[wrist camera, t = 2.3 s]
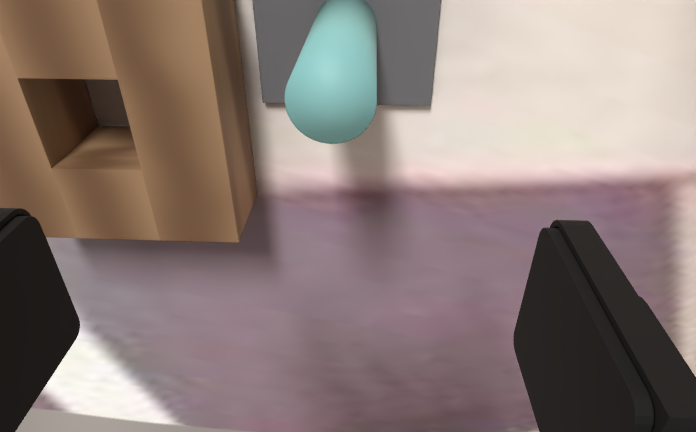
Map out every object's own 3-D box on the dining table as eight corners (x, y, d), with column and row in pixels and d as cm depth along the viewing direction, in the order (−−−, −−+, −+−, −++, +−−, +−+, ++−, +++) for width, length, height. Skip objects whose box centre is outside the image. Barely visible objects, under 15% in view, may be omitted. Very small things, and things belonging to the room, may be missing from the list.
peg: (377, -7, 24) (378, 56, 15) (375, 57, 25) (375, 144, 17) (314, -7, 24) (281, 54, 16) (316, 56, 25) (288, 142, 17)
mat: (446, -68, 22) (447, -67, 22) (430, 102, 27) (430, 105, 27) (247, -69, 23) (245, -68, 23) (264, 99, 27) (262, 102, 27)
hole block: (228, -44, 23) (197, -28, 19) (257, 193, 31) (238, 242, 27) (-41, -45, 24) (-128, -29, 20) (50, 188, 31) (0, 235, 27)
